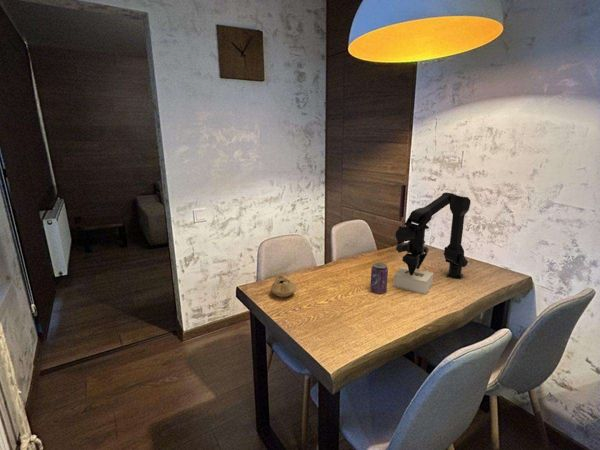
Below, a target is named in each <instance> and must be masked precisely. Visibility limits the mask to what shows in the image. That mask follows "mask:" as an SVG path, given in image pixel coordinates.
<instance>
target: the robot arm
mask: <svg viewBox="0 0 600 450" xmlns="http://www.w3.org/2000/svg"><path fill="white" fill-rule="evenodd" d="M471 204H472V203H471V199H470V198H469V197H468V196H463V195H462V196H461V195H456V194H455V193H452V192H446V191H445V192H442V194H441V195H440V196H439V197H437V198H436V199H435V200H433V201H432V202H430V203H429V204H427V205H426V206H422V207H419V208H417V209H414V210H412V211H411V212H410V214H409V216H408V217H407V220H406V221H405V222H404V224H403V225H400V226H399V228H398V229H397V230H396V232H395V238H396V240H397V242H399V244H397V245H396V248H395V250H396V251H397V253H398V254H399V253H402V252H403V253H404V252H407V253H405V254H404V255H403V256H402V262H403V264H404V263H405V264H406V265H407V267H408V269H409V273H410V275H413V273H414V271H415V270H416V269H418V270H420V267H421V266H422V264H423V262H424V261H425V259H426V257H427V256H428V254H429V248H428V247H427V246H425V244H426V240H425V235H426V230H429V228H430V227H429V225H428V223H429V222H430V221H432V220H433V219H432V218H433V216H434V215H436V214H437V213H438V212H440V211H441V210H442V209H444V208H445V207H447V206H448V205H449V210H450V212H451V214H452V218H451V219H452V220H451V227H450V237H449V244H448V245H447V246H445V247H444V250H443V251H444V253H443V255H444V260H445V262H446V263H448V264H449V265H448V272H447V273H446V274H445V275H446V277H450V278H455V279H460V280H461V279H462V277H463V276H464V274H463V273H462V272H463V268H465V267H466V266H467V265H468V263H469V261H468V259H467V258H466V257H465V250H464V247H463V244H462V241H463V240H462V239H463V231H464V222H465V215H466V214H467V213H468V212H469V211H470V208H471Z"/></svg>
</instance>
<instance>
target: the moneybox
mask: <svg viewBox="0 0 600 450" xmlns="http://www.w3.org/2000/svg"><path fill="white" fill-rule="evenodd" d="M408 272H409V269H408V266H402V267H401V268H400V269H399V270H397V271H396V272H395V273H394V274H393V287H394V288H398V289H402V290H406V291H408V292H414V293H416V294H417V293H418V294H421V295H426V294H427V293H428V292H429V290H430V289H431V288H432V286H433V281H434V272H432V271H426V270H421V269H416V270H415V271H414V274H419V275H422V277H419V276H415V275H410V274H407V273H408Z"/></svg>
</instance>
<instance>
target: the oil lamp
mask: <svg viewBox="0 0 600 450" xmlns="http://www.w3.org/2000/svg"><path fill="white" fill-rule="evenodd" d="M270 291H271V292H272V293H273V294H274V295H275V296H277V297H280V298H288V297H289V296H291V295H292V294H294V293H295V292H296V291H297V286H296V284H295V282H292V281H291V280H290V279H288V278H286V277H284V276H283V275H277V276H276V277H275V280H274V282H273V283H272V285H271V286H270Z"/></svg>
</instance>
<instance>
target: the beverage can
mask: <svg viewBox="0 0 600 450" xmlns="http://www.w3.org/2000/svg"><path fill="white" fill-rule="evenodd" d="M370 270H371V271H370V283H369V284H370V285H369V288H370V290H371V291H372V292H373V293H376V294H382V293H385V292H387V290H388V289H387V288H388V275H389V274H388V273H389V269H388V265H387V264H386V263H383V262H374V263H372V267H371V268H370Z"/></svg>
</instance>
